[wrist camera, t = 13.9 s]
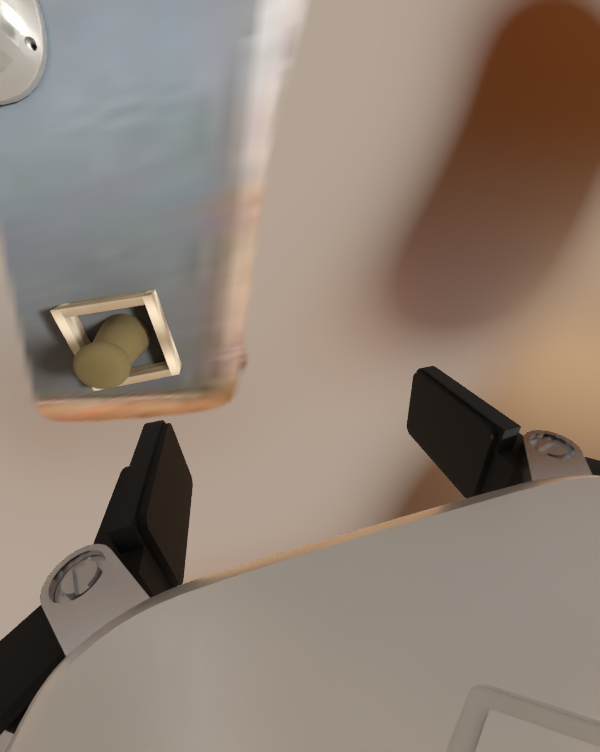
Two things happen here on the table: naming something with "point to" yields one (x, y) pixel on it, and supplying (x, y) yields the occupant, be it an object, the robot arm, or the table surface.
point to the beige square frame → (74, 330)
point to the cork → (112, 352)
